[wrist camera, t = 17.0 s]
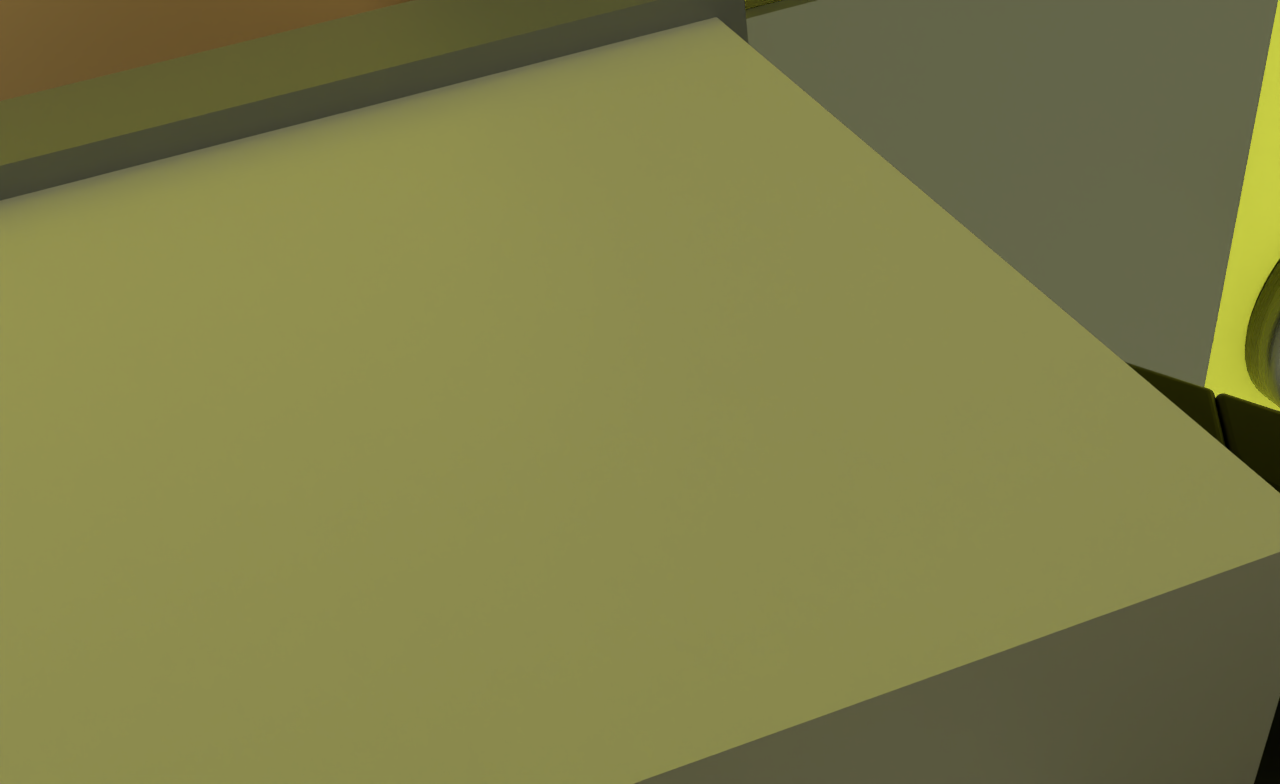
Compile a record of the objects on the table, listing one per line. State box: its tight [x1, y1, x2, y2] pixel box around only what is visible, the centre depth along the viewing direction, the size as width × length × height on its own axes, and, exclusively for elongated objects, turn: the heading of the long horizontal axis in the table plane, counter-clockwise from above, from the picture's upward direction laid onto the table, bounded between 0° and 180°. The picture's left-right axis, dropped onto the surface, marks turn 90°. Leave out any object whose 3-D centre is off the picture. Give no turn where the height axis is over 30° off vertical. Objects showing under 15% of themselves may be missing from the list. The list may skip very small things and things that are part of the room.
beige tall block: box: [0, 0, 1280, 784], centre depth 7 cm, size 5×5×8 cm
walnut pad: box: [0, 0, 413, 101], centre depth 13 cm, size 9×9×1 cm
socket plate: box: [745, 0, 1278, 387], centre depth 18 cm, size 10×8×1 cm
